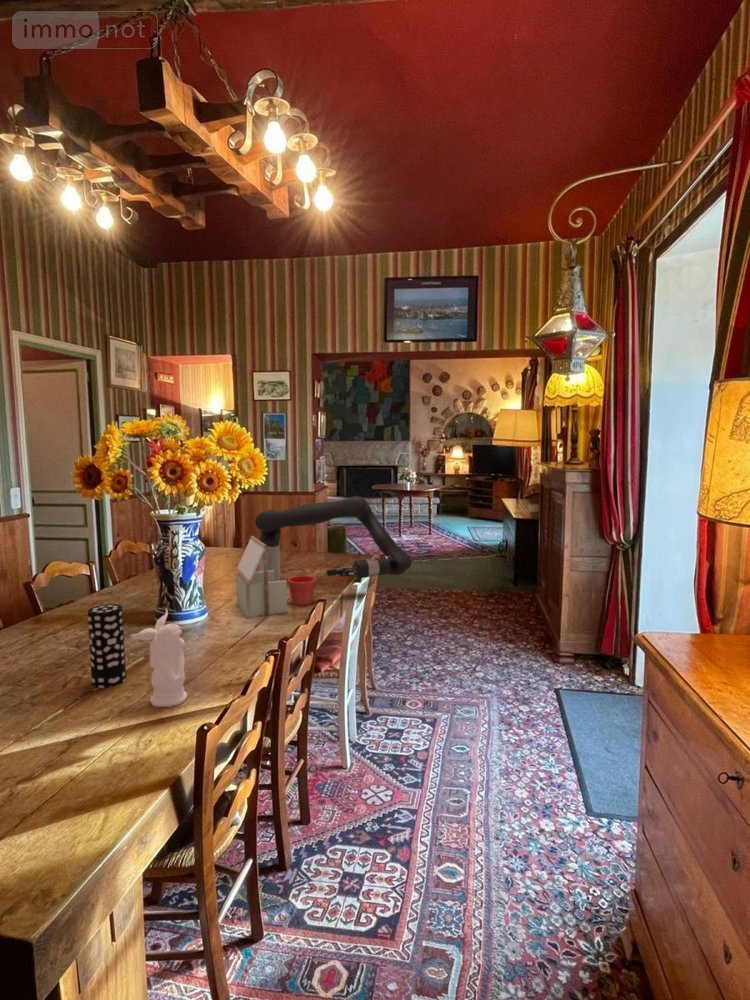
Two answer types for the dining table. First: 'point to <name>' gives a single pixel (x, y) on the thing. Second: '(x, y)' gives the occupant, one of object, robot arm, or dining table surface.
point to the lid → (251, 559)
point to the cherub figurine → (166, 662)
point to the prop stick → (266, 584)
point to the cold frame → (261, 594)
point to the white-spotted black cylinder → (106, 645)
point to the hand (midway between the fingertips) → (327, 573)
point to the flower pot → (302, 589)
